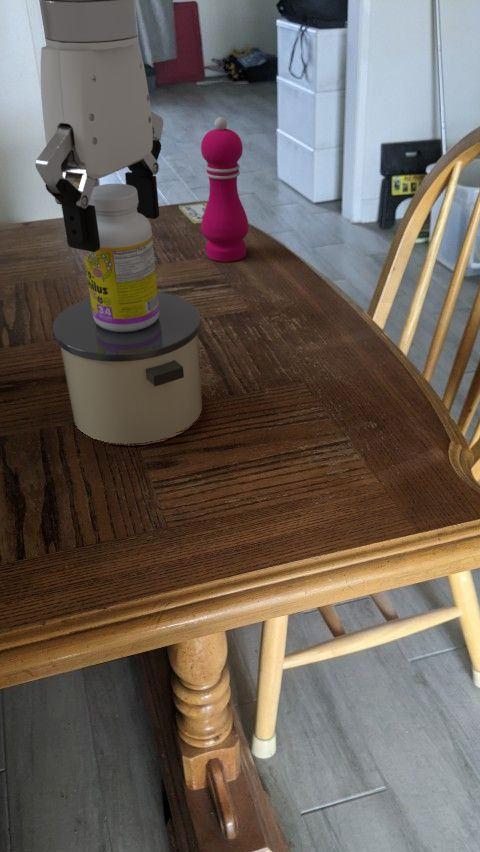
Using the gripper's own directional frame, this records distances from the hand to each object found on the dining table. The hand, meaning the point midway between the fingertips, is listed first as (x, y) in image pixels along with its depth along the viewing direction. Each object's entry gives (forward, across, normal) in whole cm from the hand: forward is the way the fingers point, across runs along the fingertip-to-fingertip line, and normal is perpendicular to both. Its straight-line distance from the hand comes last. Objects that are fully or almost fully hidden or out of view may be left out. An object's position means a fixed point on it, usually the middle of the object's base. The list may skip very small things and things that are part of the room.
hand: (115, 231), depth 74 cm
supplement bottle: (+9, 0, 0) cm, 9 cm away
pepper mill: (+20, -45, -13) cm, 51 cm away
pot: (+20, 0, 0) cm, 20 cm away
